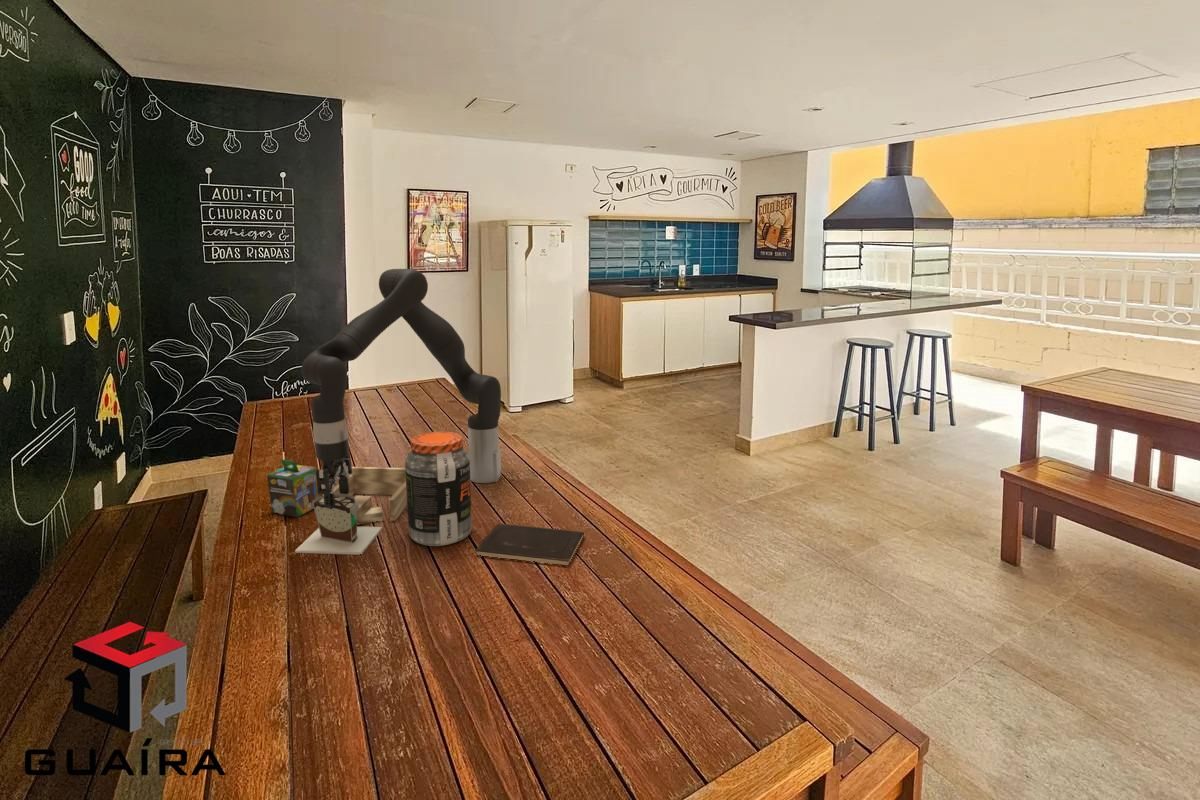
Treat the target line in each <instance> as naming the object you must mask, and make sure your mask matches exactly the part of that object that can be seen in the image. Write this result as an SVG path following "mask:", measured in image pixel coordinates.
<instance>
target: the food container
mask: <svg viewBox="0 0 1200 800" xmlns="http://www.w3.org/2000/svg"><path fill="white" fill-rule="evenodd" d="M354 497H355V496H354V495H353V496H351V495H348V494H334V501H335V506H334V507H333V508H326V507H325V504H324V495H322V496H320V497H319V498H317V499H315V500H313V501H312V502H313V503H312V508H313V507H314V509H313V510H314V514H315V517H316V520H317V521H316V522H317V525H318V528H319V530H320V534H321V537H323V538H328V539H333V540H338V541H344V542H349V543H353V542H354V541H355V540H356V539H357V526H358V525H357V521H356V512H357V511H358V509H359V506H358V503H357V501H356V499H355V498H354Z"/></svg>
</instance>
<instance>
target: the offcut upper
mask: <svg viewBox="0 0 1200 800" xmlns="http://www.w3.org/2000/svg"><path fill="white" fill-rule="evenodd" d="M353 497H354V498H355V499H356V501H357V503H358V506H359V509H358V511H357V512H356V519H360V518H361V517H362V516H363V515H364V514H365V513H366V512H367V511H368V510H369V509H370V508H373V503H372V496H371V495H359V494H356V495H355V496H353Z"/></svg>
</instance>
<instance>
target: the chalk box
mask: <svg viewBox="0 0 1200 800" xmlns="http://www.w3.org/2000/svg"><path fill="white" fill-rule="evenodd" d="M280 462H281V464H282V467H280V468H278V469H276V470H275V471H272V472H270V473H267V474H266V477H267V486H268V493H269V499H270V500H269V501H270V508H271V513H272V514H276V513H278V514H277V515H283V516H286V517H287V516H288V517H293V518H299V517H301V516H303V515H305V514H307V513H308V512H310V511H312V510H314V507H313V508H312V503H313V502H312V501H313V500H315V499H317V498H319V497H321V496H320V495H321V494H318V491H317V479H316V470H317V467H316V466H311V465H303V464H302V465H301V464H300V465H299V464H297V463H296V461H294V460H291V459H290V460H289V459H283V458H282V459H280ZM288 464H289V465H288Z"/></svg>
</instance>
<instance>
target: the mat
mask: <svg viewBox="0 0 1200 800" xmlns="http://www.w3.org/2000/svg"><path fill="white" fill-rule="evenodd" d="M382 530H383V527H382V526H360V525H359V526H358V525H357V539H356V540H355V541H354V542H353V543H349V542H344V541H338V540H333V539H328V538H323V537H321V534H320V530H319V527H318V528H317V529H315V530H314V532H313V533H312V534H310V535H309V536H308V537H307V538H306V540H304V541H303V542H302V544H300V545H299V546H298V547H297V548H296V549H295V550H294V552H295V554H320V555H321V554H324V555H325V554H326V555H327V554H328V555H329V554H330V555H331V554H332V555H355V556H356V555H358V556H360V554H361V555H362V554H363V553H364V552H365V551H366V550H367V548H368V547H369V546H370V545H371V544H372V542H374V540H375V538H377V536H378V535H379V534H380V532H381V531H382Z"/></svg>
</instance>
